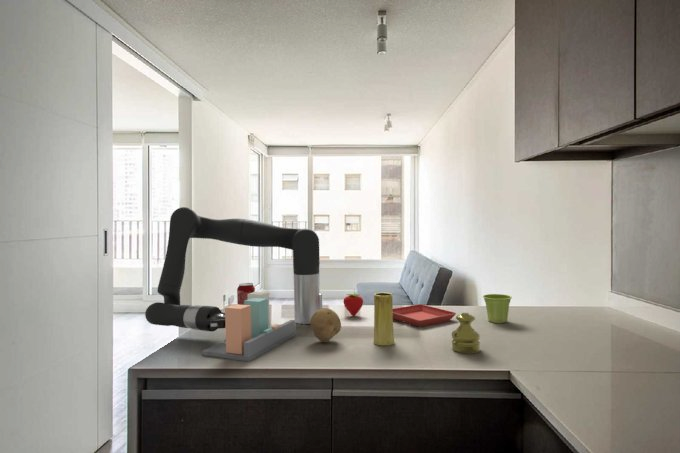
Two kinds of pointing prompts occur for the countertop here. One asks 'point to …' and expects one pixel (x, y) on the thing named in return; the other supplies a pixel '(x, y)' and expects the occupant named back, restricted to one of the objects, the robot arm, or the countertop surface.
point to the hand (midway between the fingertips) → (249, 322)
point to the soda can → (244, 292)
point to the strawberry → (353, 303)
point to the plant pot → (497, 307)
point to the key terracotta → (237, 327)
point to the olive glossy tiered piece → (465, 335)
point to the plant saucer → (422, 315)
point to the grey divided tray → (256, 343)
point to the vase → (383, 319)
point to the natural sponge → (325, 324)
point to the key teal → (258, 315)
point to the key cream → (261, 295)
